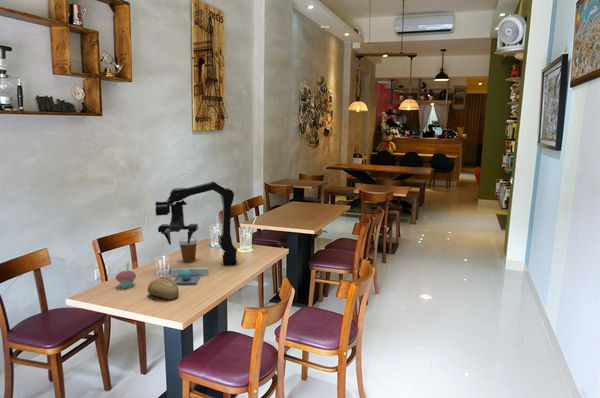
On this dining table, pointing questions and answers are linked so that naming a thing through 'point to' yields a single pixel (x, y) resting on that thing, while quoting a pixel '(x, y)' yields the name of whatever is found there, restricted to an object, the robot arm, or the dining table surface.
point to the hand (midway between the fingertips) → (179, 244)
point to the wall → (193, 270)
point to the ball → (186, 274)
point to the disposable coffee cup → (188, 249)
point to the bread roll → (164, 288)
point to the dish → (191, 281)
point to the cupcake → (126, 278)
